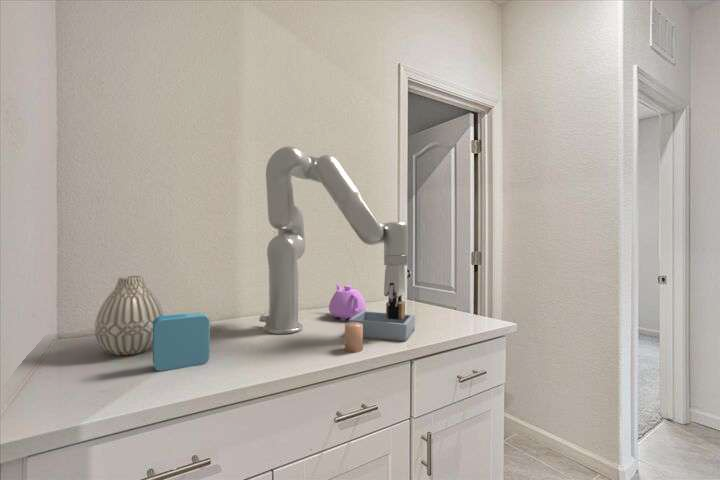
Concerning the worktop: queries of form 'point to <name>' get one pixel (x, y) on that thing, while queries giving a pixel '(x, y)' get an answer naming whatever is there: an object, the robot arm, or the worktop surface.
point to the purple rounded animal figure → (346, 303)
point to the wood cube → (401, 310)
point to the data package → (180, 341)
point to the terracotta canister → (353, 337)
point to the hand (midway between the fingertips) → (395, 316)
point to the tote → (385, 326)
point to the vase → (127, 317)
